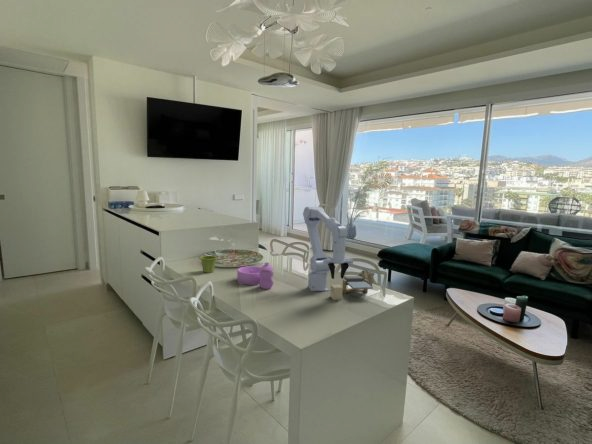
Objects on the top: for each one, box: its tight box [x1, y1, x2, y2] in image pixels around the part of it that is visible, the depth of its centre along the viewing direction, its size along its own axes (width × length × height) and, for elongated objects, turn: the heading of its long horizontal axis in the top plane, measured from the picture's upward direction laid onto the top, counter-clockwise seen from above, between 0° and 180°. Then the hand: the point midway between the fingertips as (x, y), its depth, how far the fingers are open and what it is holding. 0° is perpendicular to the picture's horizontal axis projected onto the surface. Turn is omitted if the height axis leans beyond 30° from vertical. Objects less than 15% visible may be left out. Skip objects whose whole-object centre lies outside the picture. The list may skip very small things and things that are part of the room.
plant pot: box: [199, 255, 218, 274], centre depth 192 cm, size 9×9×9 cm
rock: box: [357, 269, 375, 287], centre depth 179 cm, size 12×7×10 cm, turn 122°
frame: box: [341, 279, 369, 294], centre depth 168 cm, size 13×5×7 cm, turn 101°
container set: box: [236, 262, 274, 290], centre depth 174 cm, size 25×15×13 cm, turn 42°
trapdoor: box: [343, 275, 373, 290], centre depth 164 cm, size 10×14×4 cm
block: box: [329, 284, 343, 301], centre depth 158 cm, size 4×4×6 cm
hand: (337, 278), depth 157 cm, fingers open, 4 cm apart
